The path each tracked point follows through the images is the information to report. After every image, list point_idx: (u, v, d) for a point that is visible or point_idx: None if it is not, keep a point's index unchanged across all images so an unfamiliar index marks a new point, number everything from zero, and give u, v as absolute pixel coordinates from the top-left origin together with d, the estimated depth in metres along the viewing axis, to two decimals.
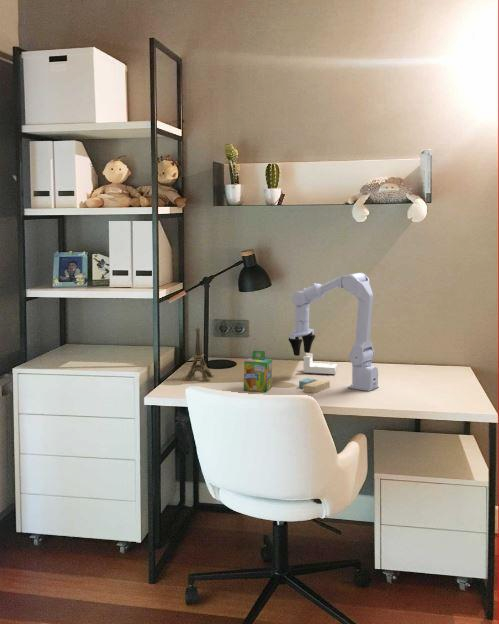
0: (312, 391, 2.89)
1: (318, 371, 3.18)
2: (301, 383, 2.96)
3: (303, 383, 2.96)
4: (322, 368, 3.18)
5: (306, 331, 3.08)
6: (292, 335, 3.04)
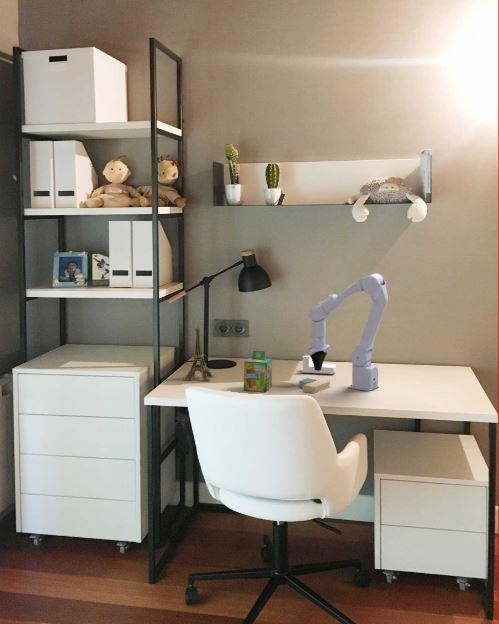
0: (312, 391, 2.89)
1: (317, 371, 3.18)
2: (301, 383, 2.96)
3: (303, 383, 2.96)
4: (321, 368, 3.18)
5: (322, 347, 3.00)
6: (308, 351, 2.96)
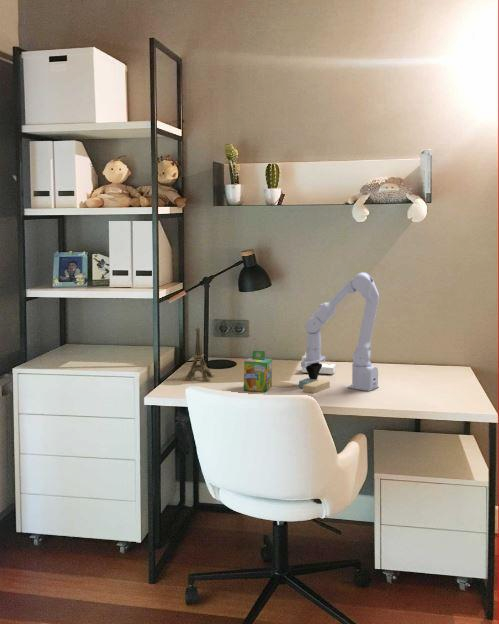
0: (312, 391, 2.89)
1: None
2: (301, 383, 2.96)
3: (303, 383, 2.96)
4: None
5: (318, 359, 2.98)
6: (303, 363, 2.94)
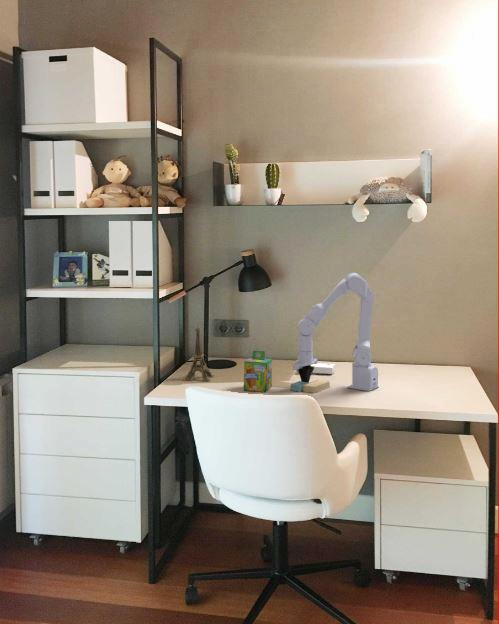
0: (312, 391, 2.89)
1: (316, 371, 3.19)
2: (293, 386, 2.92)
3: (295, 386, 2.91)
4: (320, 368, 3.18)
5: (310, 361, 2.93)
6: (295, 366, 2.90)
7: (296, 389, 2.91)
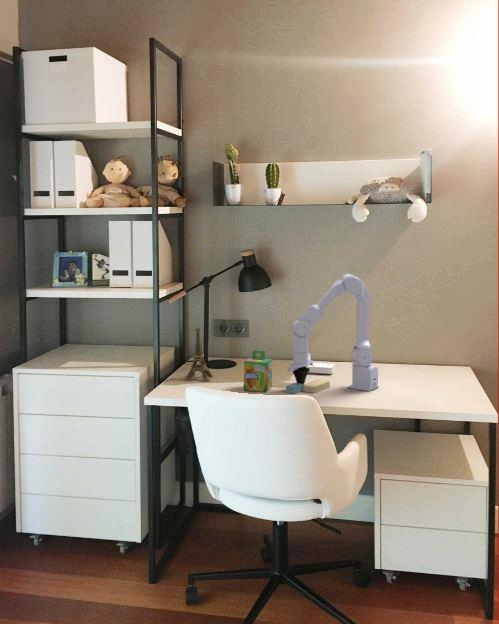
0: (312, 391, 2.89)
1: (315, 371, 3.19)
2: (288, 388, 2.89)
3: (290, 388, 2.89)
4: (319, 368, 3.18)
5: (305, 363, 2.91)
6: (290, 367, 2.87)
7: (291, 391, 2.88)
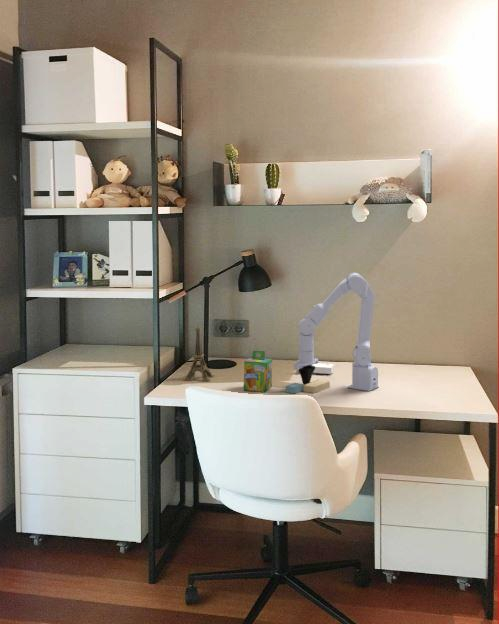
0: (312, 391, 2.89)
1: (315, 371, 3.19)
2: (288, 388, 2.89)
3: (290, 388, 2.89)
4: (318, 368, 3.18)
5: (311, 361, 2.94)
6: (296, 366, 2.90)
7: (291, 391, 2.88)
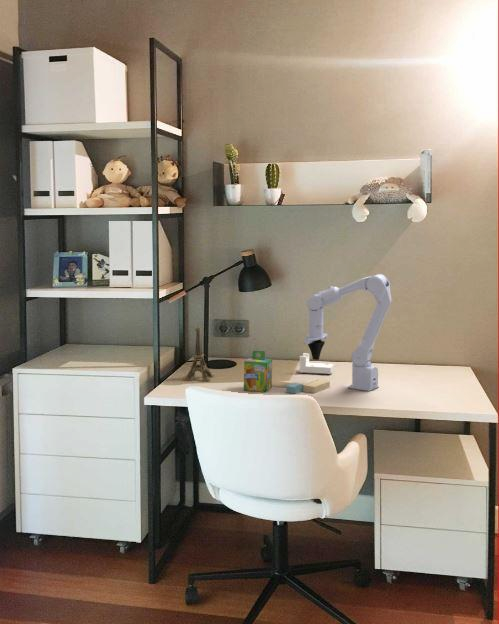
0: (312, 391, 2.89)
1: (314, 371, 3.19)
2: (288, 388, 2.89)
3: (290, 388, 2.89)
4: (318, 368, 3.18)
5: (320, 336, 2.98)
6: (306, 340, 2.95)
7: (291, 391, 2.88)
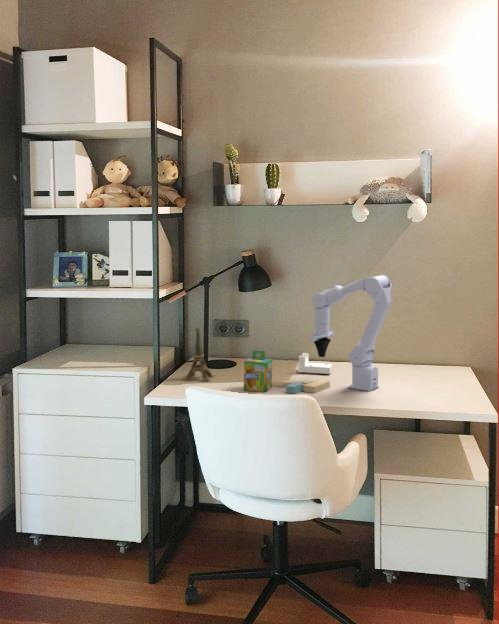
0: (312, 391, 2.89)
1: (313, 371, 3.19)
2: (288, 388, 2.89)
3: (290, 388, 2.89)
4: (317, 368, 3.18)
5: (326, 333, 3.02)
6: (312, 338, 2.99)
7: (291, 391, 2.88)
